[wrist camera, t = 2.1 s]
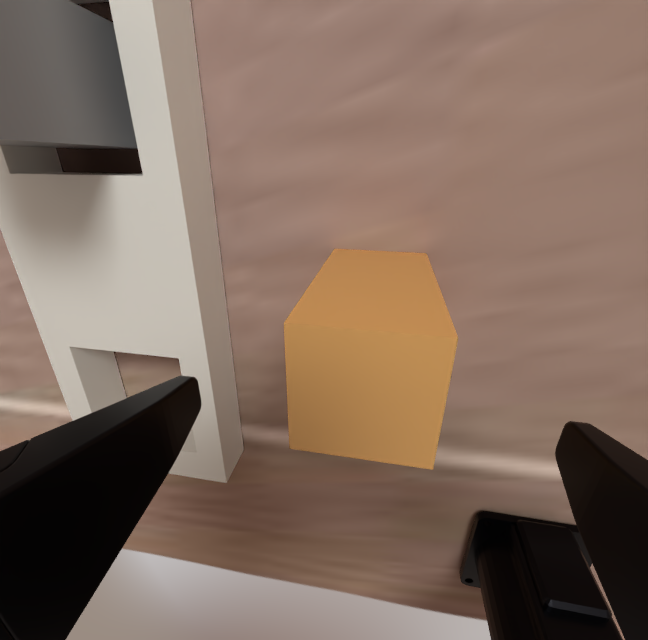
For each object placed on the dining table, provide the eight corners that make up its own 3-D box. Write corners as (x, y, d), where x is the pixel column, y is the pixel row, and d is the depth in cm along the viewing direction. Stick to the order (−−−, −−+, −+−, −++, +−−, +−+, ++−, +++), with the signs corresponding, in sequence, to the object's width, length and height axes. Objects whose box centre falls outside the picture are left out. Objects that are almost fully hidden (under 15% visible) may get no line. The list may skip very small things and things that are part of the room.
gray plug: (154, 148, 15) (-64, 135, 8) (74, 148, 16) (-195, 135, 8) (134, 33, 13) (-167, -118, 6) (46, 38, 14) (-321, -94, 7)
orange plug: (415, 336, 16) (432, 469, 9) (332, 328, 17) (289, 448, 10) (426, 253, 15) (458, 338, 8) (334, 248, 15) (284, 323, 8)
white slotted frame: (243, 450, 22) (226, 483, 19) (116, 431, 23) (87, 459, 21) (181, -82, 12) (130, -139, 9) (-36, -57, 13) (-125, -103, 11)
